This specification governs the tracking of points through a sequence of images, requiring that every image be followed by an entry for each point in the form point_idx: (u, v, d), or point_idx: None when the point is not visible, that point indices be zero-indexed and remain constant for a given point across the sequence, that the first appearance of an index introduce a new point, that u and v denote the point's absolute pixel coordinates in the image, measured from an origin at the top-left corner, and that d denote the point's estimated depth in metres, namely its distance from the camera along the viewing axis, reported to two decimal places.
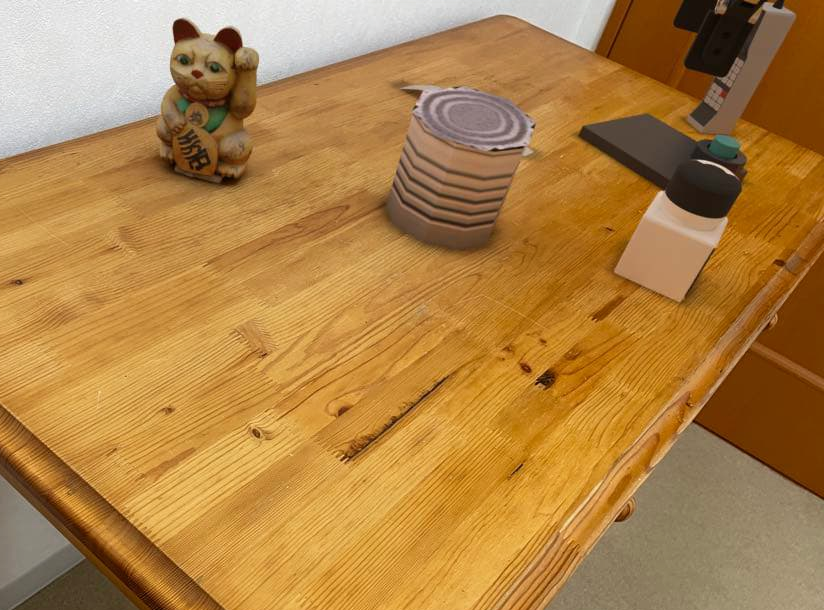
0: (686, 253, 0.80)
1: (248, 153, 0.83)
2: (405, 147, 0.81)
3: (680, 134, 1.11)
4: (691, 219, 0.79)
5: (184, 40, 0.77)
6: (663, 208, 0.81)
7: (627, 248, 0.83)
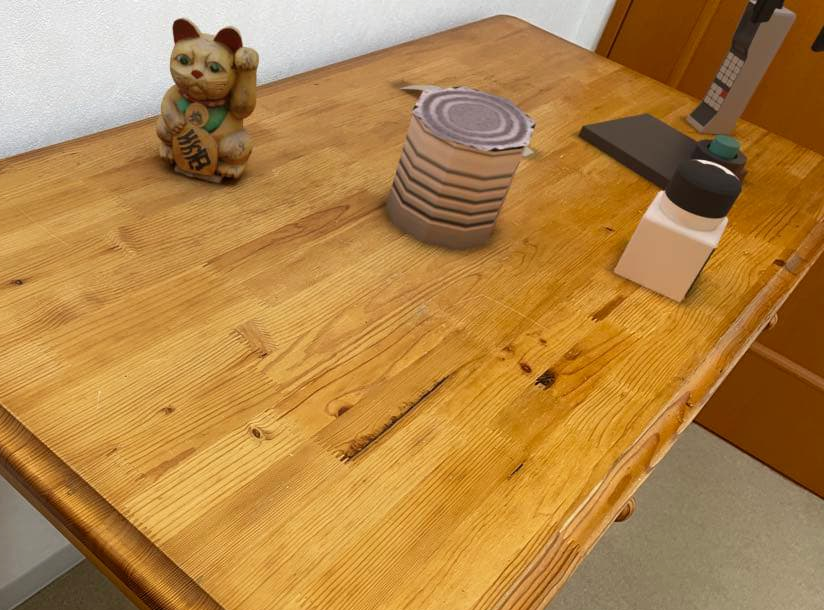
0: (686, 253, 0.80)
1: (248, 153, 0.83)
2: (405, 147, 0.81)
3: (680, 134, 1.11)
4: (691, 219, 0.79)
5: (184, 40, 0.77)
6: (663, 208, 0.81)
7: (627, 248, 0.83)
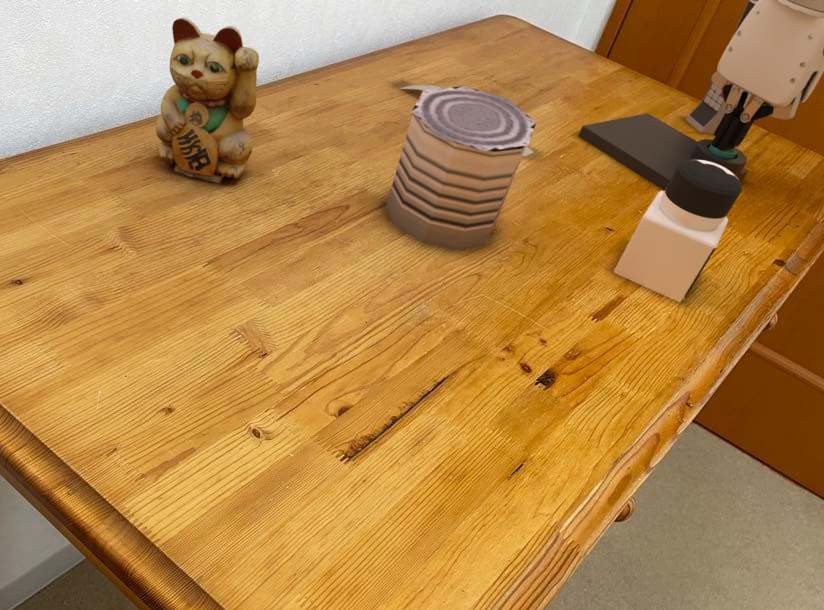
0: (686, 253, 0.80)
1: (248, 153, 0.83)
2: (405, 147, 0.81)
3: (680, 134, 1.11)
4: (691, 219, 0.79)
5: (184, 40, 0.77)
6: (663, 208, 0.81)
7: (627, 248, 0.83)
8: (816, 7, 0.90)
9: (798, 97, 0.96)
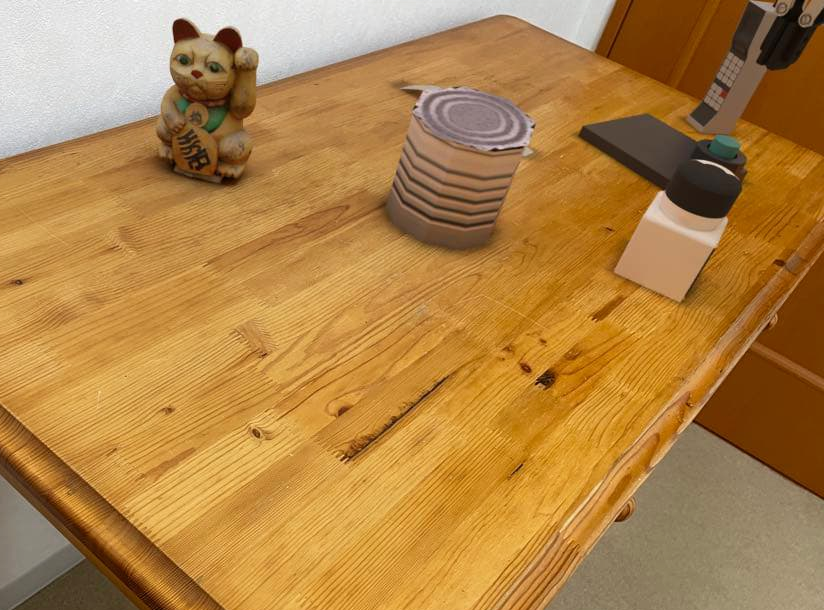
0: (686, 253, 0.80)
1: (248, 153, 0.83)
2: (405, 147, 0.81)
3: (680, 134, 1.11)
4: (691, 219, 0.79)
5: (184, 40, 0.77)
6: (663, 208, 0.81)
7: (627, 248, 0.83)
8: None
9: None
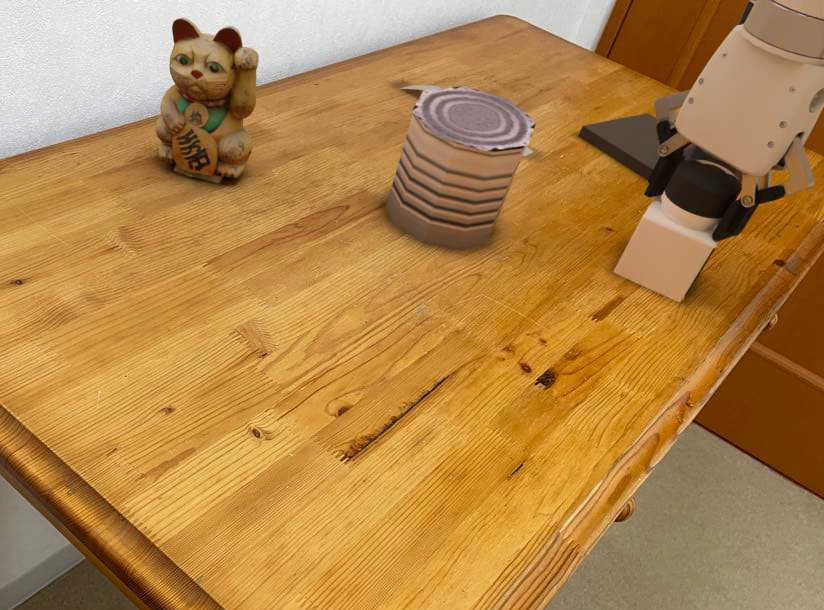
0: (686, 253, 0.80)
1: (248, 153, 0.83)
2: (405, 147, 0.81)
3: None
4: (690, 219, 0.79)
5: (183, 40, 0.77)
6: (663, 208, 0.81)
7: (627, 248, 0.83)
8: (800, 50, 0.67)
9: (803, 157, 0.72)
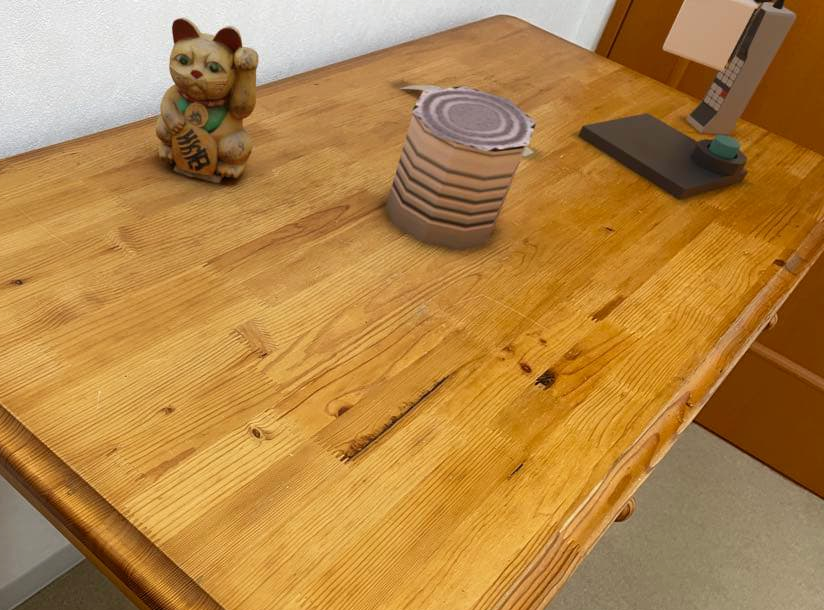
0: (730, 17, 0.90)
1: (247, 153, 0.83)
2: (405, 147, 0.81)
3: (680, 134, 1.11)
4: None
5: (183, 40, 0.77)
6: None
7: (676, 20, 0.93)
8: None
9: None
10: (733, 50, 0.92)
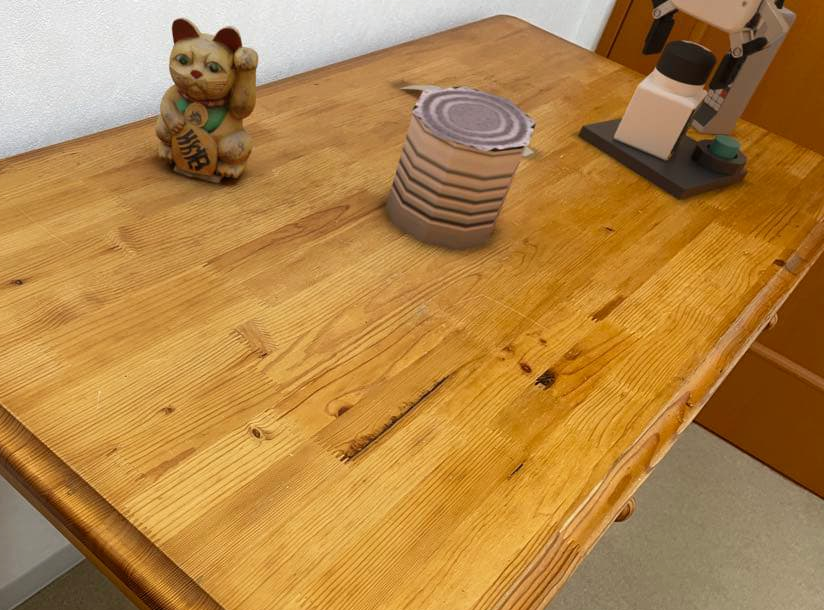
0: (672, 115, 1.00)
1: (247, 153, 0.83)
2: (405, 147, 0.81)
3: None
4: (675, 86, 0.99)
5: (183, 40, 0.77)
6: (654, 80, 1.02)
7: (625, 114, 1.03)
8: None
9: (775, 10, 0.91)
10: (675, 143, 1.02)
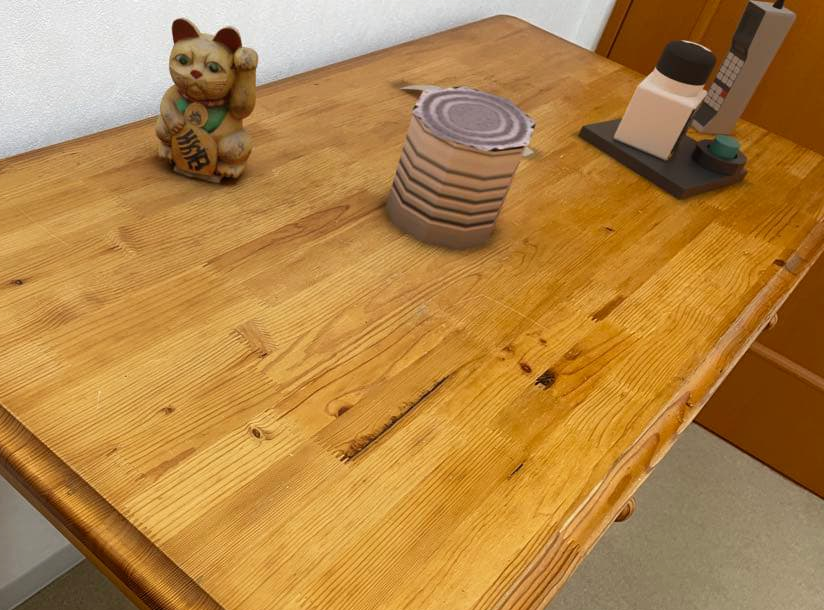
0: (672, 115, 1.00)
1: (247, 153, 0.83)
2: (405, 147, 0.81)
3: None
4: (675, 86, 0.99)
5: (183, 40, 0.77)
6: (654, 80, 1.02)
7: (625, 114, 1.03)
8: None
9: None
10: (675, 143, 1.02)
